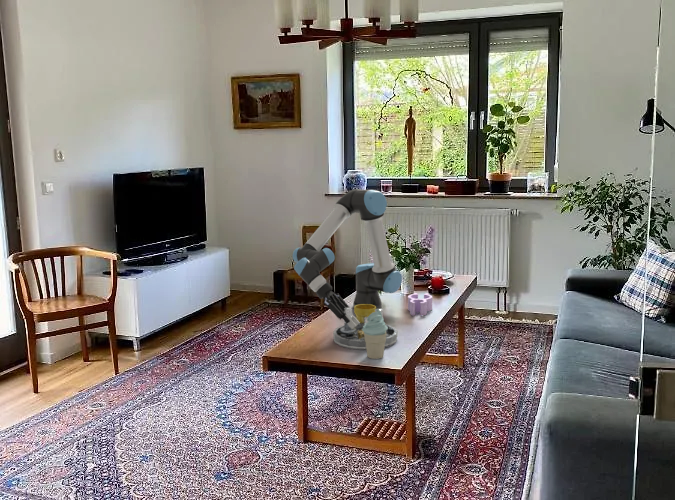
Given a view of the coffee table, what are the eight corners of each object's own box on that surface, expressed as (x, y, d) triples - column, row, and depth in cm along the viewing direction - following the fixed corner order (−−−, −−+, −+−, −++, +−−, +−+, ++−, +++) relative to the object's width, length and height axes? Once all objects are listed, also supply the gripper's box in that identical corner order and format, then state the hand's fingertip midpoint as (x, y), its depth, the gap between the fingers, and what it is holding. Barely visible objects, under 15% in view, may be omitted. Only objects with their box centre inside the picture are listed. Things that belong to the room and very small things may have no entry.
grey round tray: (347, 327, 315) (346, 302, 313) (405, 333, 305) (405, 307, 302) (323, 345, 290) (322, 318, 288) (385, 352, 279) (385, 324, 277)
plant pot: (378, 323, 321) (378, 304, 319) (373, 330, 311) (373, 309, 309) (357, 322, 323) (357, 303, 322) (352, 328, 314) (351, 308, 312)
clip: (430, 316, 332) (430, 303, 331) (405, 315, 335) (405, 302, 333) (433, 306, 351) (433, 293, 350) (409, 305, 354) (409, 292, 353)
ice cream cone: (357, 357, 274) (356, 310, 271) (375, 350, 282) (375, 304, 278) (375, 362, 267) (375, 314, 264) (394, 355, 275) (393, 308, 271)
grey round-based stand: (344, 329, 304) (343, 306, 303) (358, 330, 302) (357, 307, 300) (338, 333, 298) (337, 309, 296) (352, 335, 295) (352, 311, 294)
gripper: (323, 288, 310) (357, 326, 307) (308, 296, 295) (343, 336, 292) (333, 278, 307) (367, 315, 304) (318, 286, 292) (354, 325, 289)
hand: (355, 325), depth 298 cm, fingers closed on grey round-based stand, 4 cm apart
